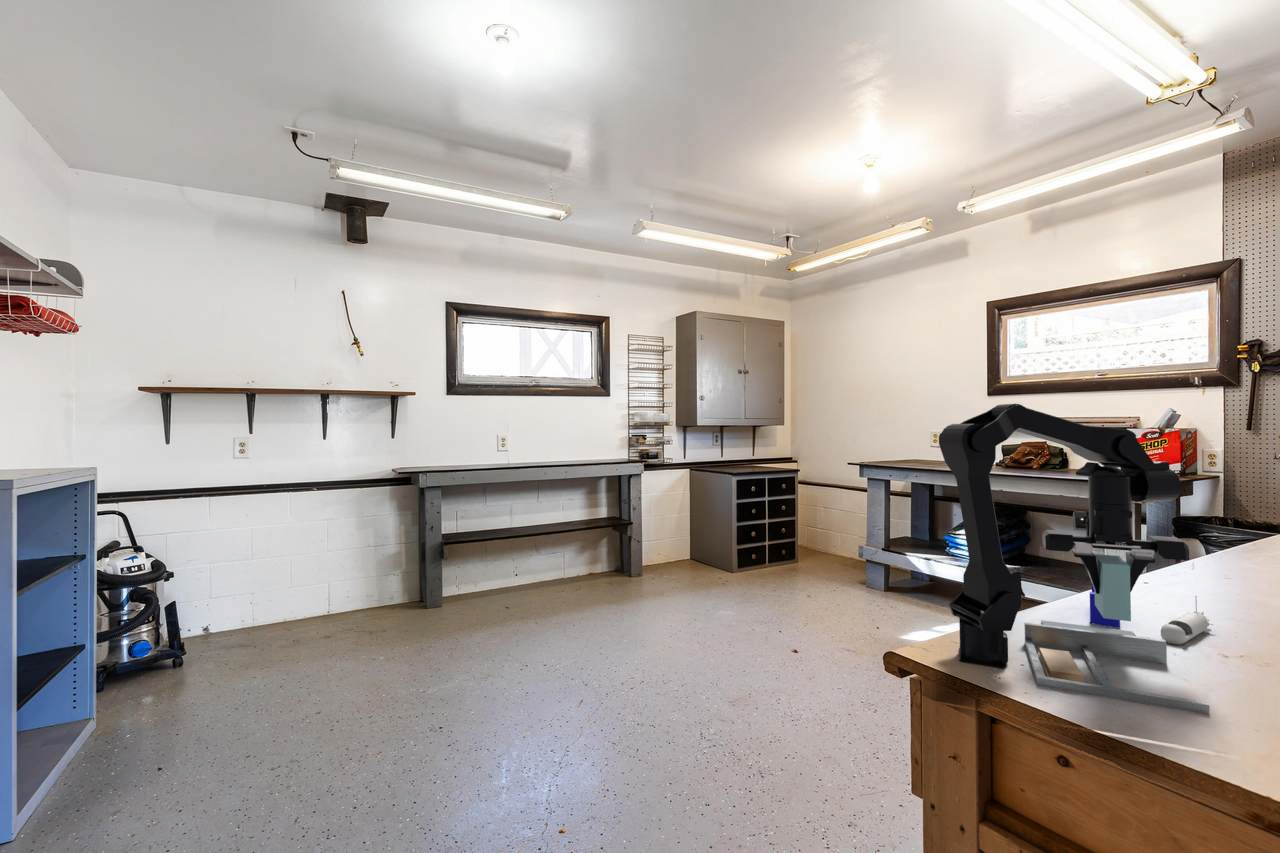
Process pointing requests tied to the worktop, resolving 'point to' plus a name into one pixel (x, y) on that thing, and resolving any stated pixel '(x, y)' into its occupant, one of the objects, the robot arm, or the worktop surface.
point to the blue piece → (1096, 615)
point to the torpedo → (1184, 627)
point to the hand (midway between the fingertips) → (1111, 594)
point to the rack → (1100, 646)
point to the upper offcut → (1060, 664)
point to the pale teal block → (1113, 588)
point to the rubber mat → (1088, 628)
